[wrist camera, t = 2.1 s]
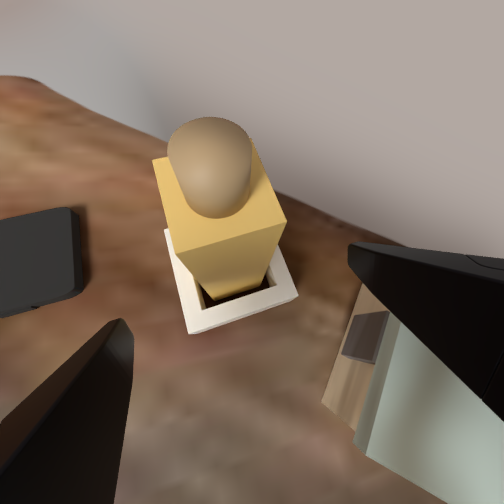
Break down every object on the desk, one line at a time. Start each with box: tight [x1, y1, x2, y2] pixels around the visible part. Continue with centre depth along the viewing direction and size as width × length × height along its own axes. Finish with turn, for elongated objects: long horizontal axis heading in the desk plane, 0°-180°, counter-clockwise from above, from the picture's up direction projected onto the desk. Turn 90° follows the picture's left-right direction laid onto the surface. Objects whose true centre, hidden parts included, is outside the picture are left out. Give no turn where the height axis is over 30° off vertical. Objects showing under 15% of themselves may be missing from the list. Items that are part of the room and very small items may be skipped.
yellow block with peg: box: [152, 117, 287, 301], centre depth 13 cm, size 4×4×14 cm
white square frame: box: [164, 228, 299, 334], centre depth 18 cm, size 8×8×3 cm
